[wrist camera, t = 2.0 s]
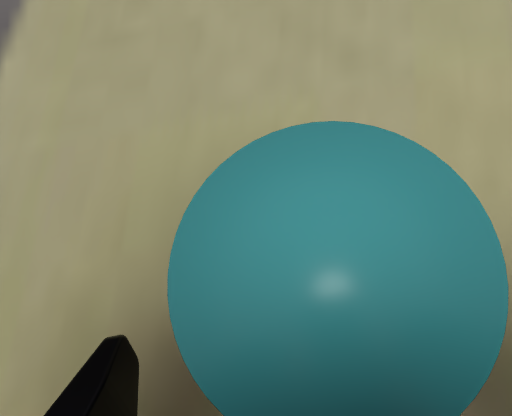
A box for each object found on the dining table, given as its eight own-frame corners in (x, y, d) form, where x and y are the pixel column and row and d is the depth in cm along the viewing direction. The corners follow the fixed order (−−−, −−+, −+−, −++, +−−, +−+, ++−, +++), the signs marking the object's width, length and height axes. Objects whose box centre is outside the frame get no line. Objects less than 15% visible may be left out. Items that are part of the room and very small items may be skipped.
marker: (338, 357, 18) (431, 534, 5) (247, 312, 19) (112, 362, 6) (378, 263, 19) (557, 195, 5) (287, 224, 19) (250, 77, 6)
